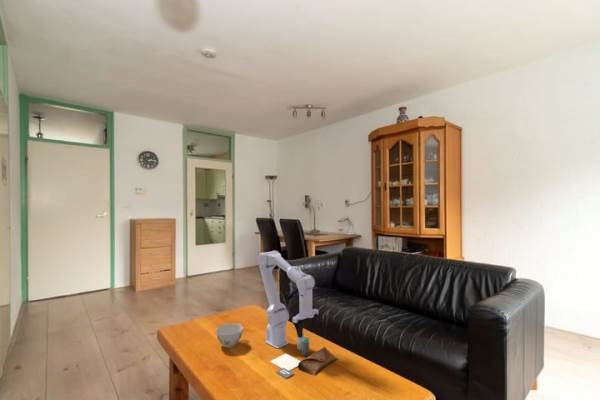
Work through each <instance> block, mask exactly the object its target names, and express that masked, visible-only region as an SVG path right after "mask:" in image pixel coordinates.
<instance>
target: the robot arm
mask: <svg viewBox="0 0 600 400" xmlns="http://www.w3.org/2000/svg"><path fill="white" fill-rule="evenodd" d="M257 263H258V267H259V270H260V274H261V278H262V282H263V286H264V289H265V293H266V297H267V301H268V305H269V307H268V308H267V310H266V315H267V316H266V317H267V318H266V319H267V323H268V324H267V326H266V340H265V341H264V343H265V344H268V345H270V346H272V347H274V348H276V349H280V348H282V347H284V346H287V345H288V344H290V343H291V341H289V340H287V329H286V328H287V324H288V321H289V319H290V313H289V310H288V309H287V308H286V305H285V304H284V303H282V302H281V299H280V296H279V293H278V288H277V286H276V282H275V277H274V275H273V270H274V268H275V267H276V266H277V267H279V268H280V269H281V270H283V271H284V272H286V275H287V277H288V279H290V280H292V282H293V283H295V284H296V288H297V289H298V294H299V299H298V300H299V307H298V308H299V311H298V312H299V313H297V314H296V315H295V316H293V317H292V322H291V323H292V325H293V326H294V328H295V331H296V336H297V335H298V337H299V338H302V336H303V332H304V326H305V324H306V323H304V322H303V320H305V319H308V320H307V321H308V328H309V329H308V330H309V332H311V333H314V332H315V331H316V330H315V329H316V324H317V322H318V321H319V319H320V317H319V309H317V308H313V288H314V287H315V284H316V281H315V278H314V276H312V275H311V274H306V273H305V272H303V271H302V270H301V269H299V267H298V266H295V265H293V266H291V264H289V262H287V261H286V260H285V259H284V257H282V254H281V253H280V252H279V251H278V250H272V251H268V252H267V251H266V252H261V253H259V255H258V257H257Z"/></svg>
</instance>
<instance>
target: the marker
mask: <svg viewBox="0 0 600 400" xmlns="http://www.w3.org/2000/svg"><path fill="white" fill-rule="evenodd" d="M301 356H302V357H303V358H307V357H309V356H310V337H305V336H304V338H302V350H301Z"/></svg>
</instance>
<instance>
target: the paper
mask: <svg viewBox="0 0 600 400" xmlns="http://www.w3.org/2000/svg"><path fill="white" fill-rule="evenodd" d="M300 361H301V360H299V359H298V358H296V357H294V356H291V355H289V354H288V353H284V354H282V355H280V356H277V357H276V358H273V359H272V360H270V361H269V362H270V363H271V364H273V365H274V366H276V367H278V368H280V369H282V368H285V369H287V370H288V371H290V372H292V370H294V369H295V368H298V364H299V362H300Z"/></svg>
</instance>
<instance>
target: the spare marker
mask: <svg viewBox="0 0 600 400" xmlns="http://www.w3.org/2000/svg"><path fill="white" fill-rule="evenodd" d="M304 337H305V332H304V331H303V336H302V338H304ZM302 338H299V337H298V335H297V334H296V349H297V350H299V351H302Z"/></svg>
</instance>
